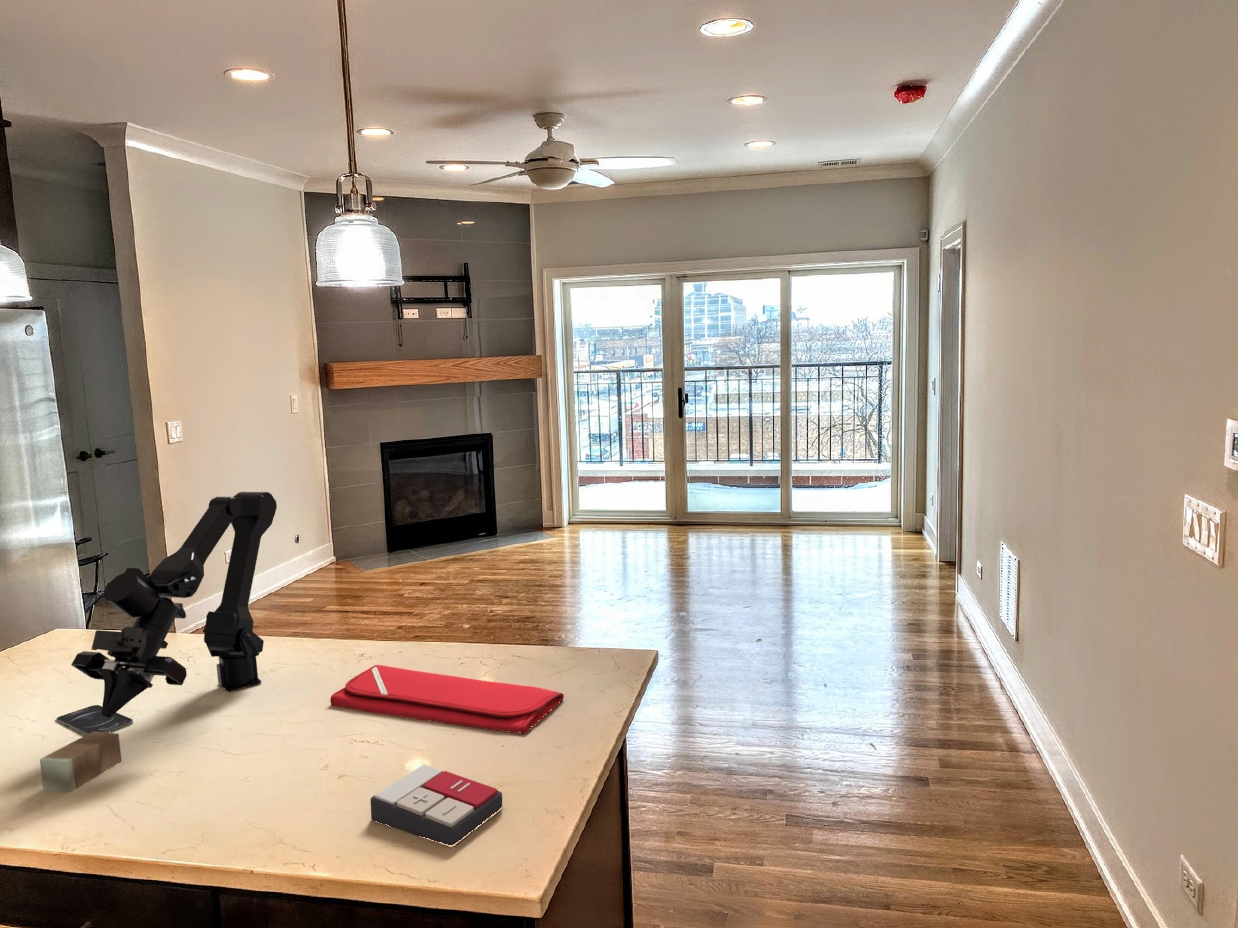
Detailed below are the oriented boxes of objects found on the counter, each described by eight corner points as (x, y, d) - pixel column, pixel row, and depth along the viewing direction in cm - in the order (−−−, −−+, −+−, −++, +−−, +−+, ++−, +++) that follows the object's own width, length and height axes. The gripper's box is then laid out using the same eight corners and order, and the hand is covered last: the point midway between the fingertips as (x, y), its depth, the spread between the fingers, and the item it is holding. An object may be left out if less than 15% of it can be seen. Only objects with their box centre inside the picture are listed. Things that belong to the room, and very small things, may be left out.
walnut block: (93, 731, 142) (39, 759, 133) (118, 733, 141) (66, 761, 132) (96, 760, 143) (43, 790, 133) (121, 762, 142) (70, 793, 132)
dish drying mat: (525, 738, 146) (524, 717, 146) (328, 709, 161) (326, 690, 161) (564, 701, 161) (563, 682, 160) (380, 678, 176) (379, 660, 175)
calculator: (451, 825, 113) (368, 793, 121) (452, 855, 114) (369, 821, 121) (503, 787, 123) (423, 759, 130) (503, 815, 123) (424, 785, 131)
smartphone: (96, 704, 165) (135, 720, 156) (97, 708, 165) (136, 724, 157) (53, 718, 159) (91, 736, 150) (54, 722, 159) (92, 740, 151)
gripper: (74, 605, 147) (23, 693, 138) (167, 610, 142) (121, 701, 133) (116, 635, 155) (71, 720, 146) (205, 640, 151) (164, 728, 142)
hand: (105, 716), depth 142 cm, fingers closed
